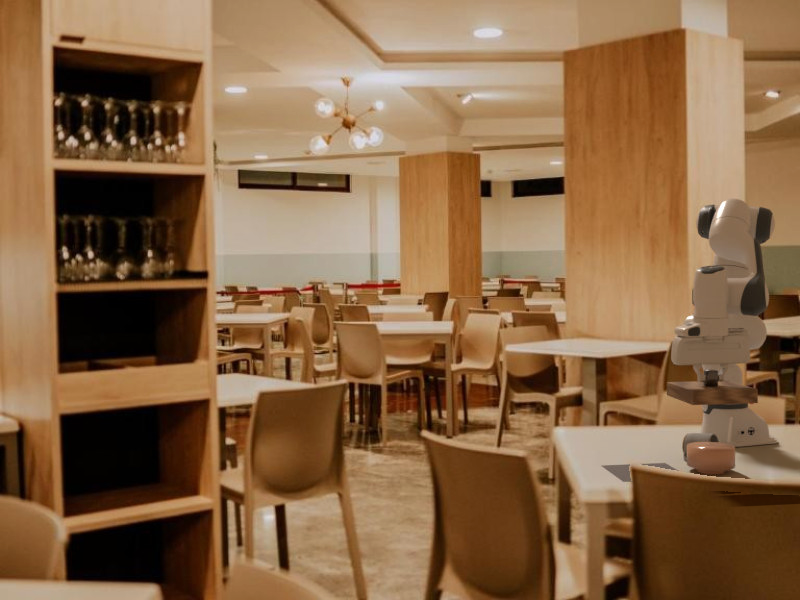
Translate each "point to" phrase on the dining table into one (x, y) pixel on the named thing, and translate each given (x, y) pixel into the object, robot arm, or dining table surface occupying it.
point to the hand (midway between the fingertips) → (710, 381)
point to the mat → (624, 473)
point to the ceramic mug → (697, 440)
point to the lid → (712, 391)
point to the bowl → (711, 457)
